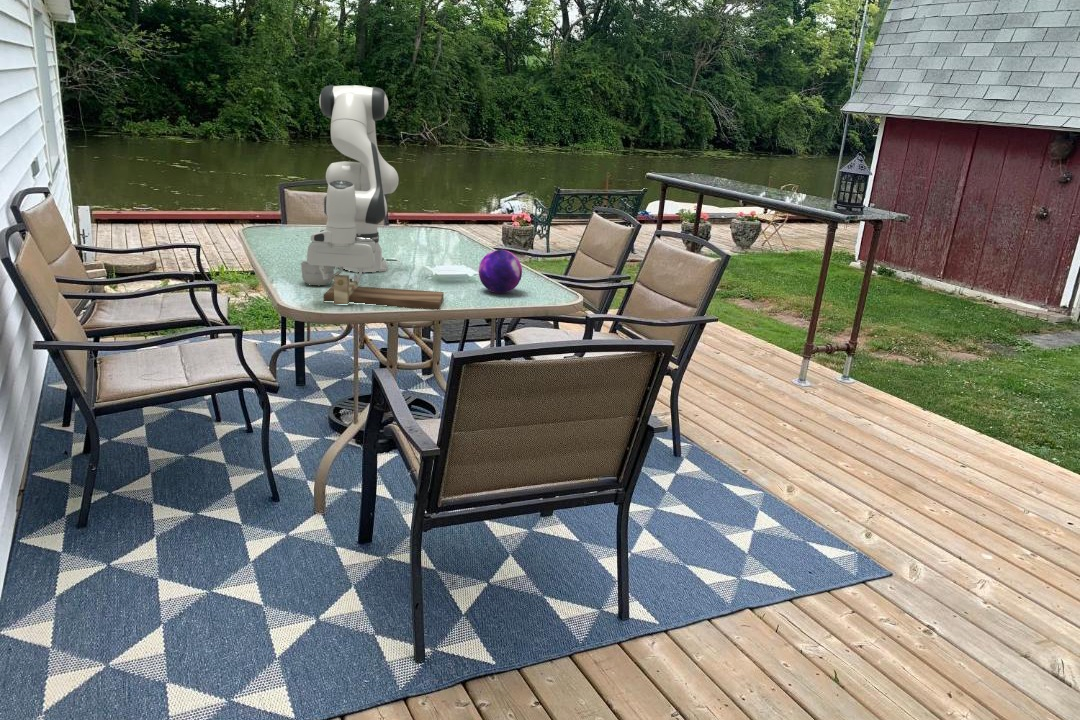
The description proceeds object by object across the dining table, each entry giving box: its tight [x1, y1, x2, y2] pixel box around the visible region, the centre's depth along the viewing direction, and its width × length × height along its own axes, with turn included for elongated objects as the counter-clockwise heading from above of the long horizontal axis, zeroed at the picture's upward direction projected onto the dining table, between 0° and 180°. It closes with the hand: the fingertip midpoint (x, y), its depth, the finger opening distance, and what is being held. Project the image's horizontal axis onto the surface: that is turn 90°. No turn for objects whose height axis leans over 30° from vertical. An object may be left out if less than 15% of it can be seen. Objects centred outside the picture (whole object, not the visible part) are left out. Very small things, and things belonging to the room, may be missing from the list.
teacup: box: [300, 260, 344, 287], centre depth 273 cm, size 14×11×8 cm
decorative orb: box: [478, 249, 523, 294], centre depth 279 cm, size 15×15×15 cm
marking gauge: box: [333, 274, 359, 305], centre depth 255 cm, size 17×4×9 cm, turn 1°
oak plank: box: [323, 284, 445, 311], centre depth 259 cm, size 14×36×2 cm, turn 91°
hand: (341, 280), depth 248 cm, fingers open, 8 cm apart
